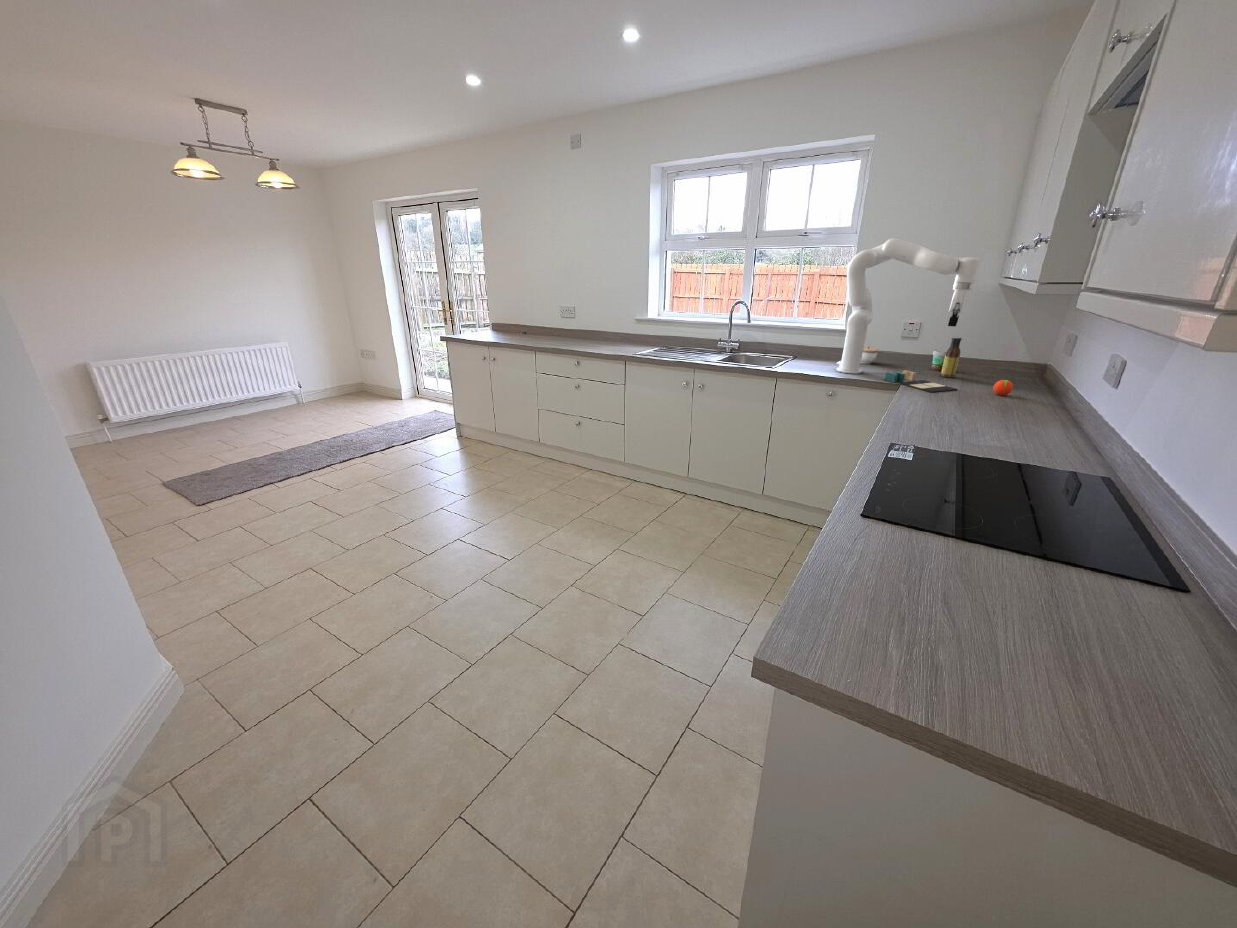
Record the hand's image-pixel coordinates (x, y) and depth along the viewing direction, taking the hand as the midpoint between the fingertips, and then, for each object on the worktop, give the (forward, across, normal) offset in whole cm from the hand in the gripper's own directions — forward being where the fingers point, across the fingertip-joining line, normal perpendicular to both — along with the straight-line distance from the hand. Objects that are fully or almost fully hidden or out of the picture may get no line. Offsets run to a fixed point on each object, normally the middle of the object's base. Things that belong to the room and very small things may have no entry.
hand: (952, 325), depth 228 cm
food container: (+28, -32, -2) cm, 42 cm away
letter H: (+27, +10, -18) cm, 34 cm away
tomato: (+28, +12, +25) cm, 39 cm away
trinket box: (+28, -30, -38) cm, 56 cm away
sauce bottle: (+28, -17, +4) cm, 32 cm away
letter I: (+27, +2, -12) cm, 30 cm away
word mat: (+27, +13, -3) cm, 31 cm away
